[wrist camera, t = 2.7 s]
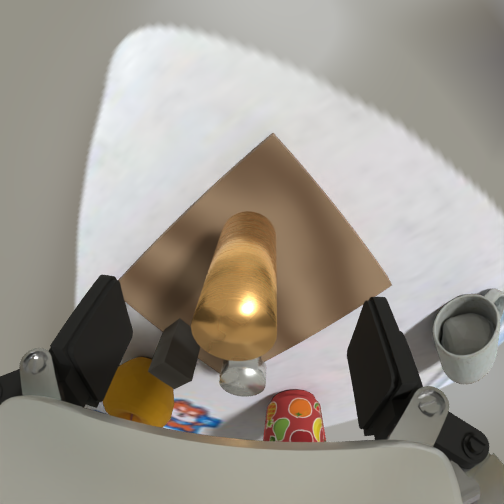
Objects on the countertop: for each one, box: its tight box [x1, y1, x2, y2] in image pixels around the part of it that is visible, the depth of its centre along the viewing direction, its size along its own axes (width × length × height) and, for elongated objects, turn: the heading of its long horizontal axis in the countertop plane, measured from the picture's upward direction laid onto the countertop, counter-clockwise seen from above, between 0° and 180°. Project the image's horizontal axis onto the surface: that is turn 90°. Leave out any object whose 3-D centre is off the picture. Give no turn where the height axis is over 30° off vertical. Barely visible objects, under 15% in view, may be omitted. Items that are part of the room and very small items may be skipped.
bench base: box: [118, 133, 392, 389], centre depth 24 cm, size 20×16×7 cm
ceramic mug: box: [433, 289, 504, 384], centre depth 24 cm, size 11×8×8 cm
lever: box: [191, 211, 277, 396], centre depth 19 cm, size 18×4×10 cm, turn 177°
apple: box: [103, 357, 174, 428], centre depth 30 cm, size 9×8×9 cm
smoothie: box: [263, 390, 326, 442], centre depth 27 cm, size 8×8×20 cm
